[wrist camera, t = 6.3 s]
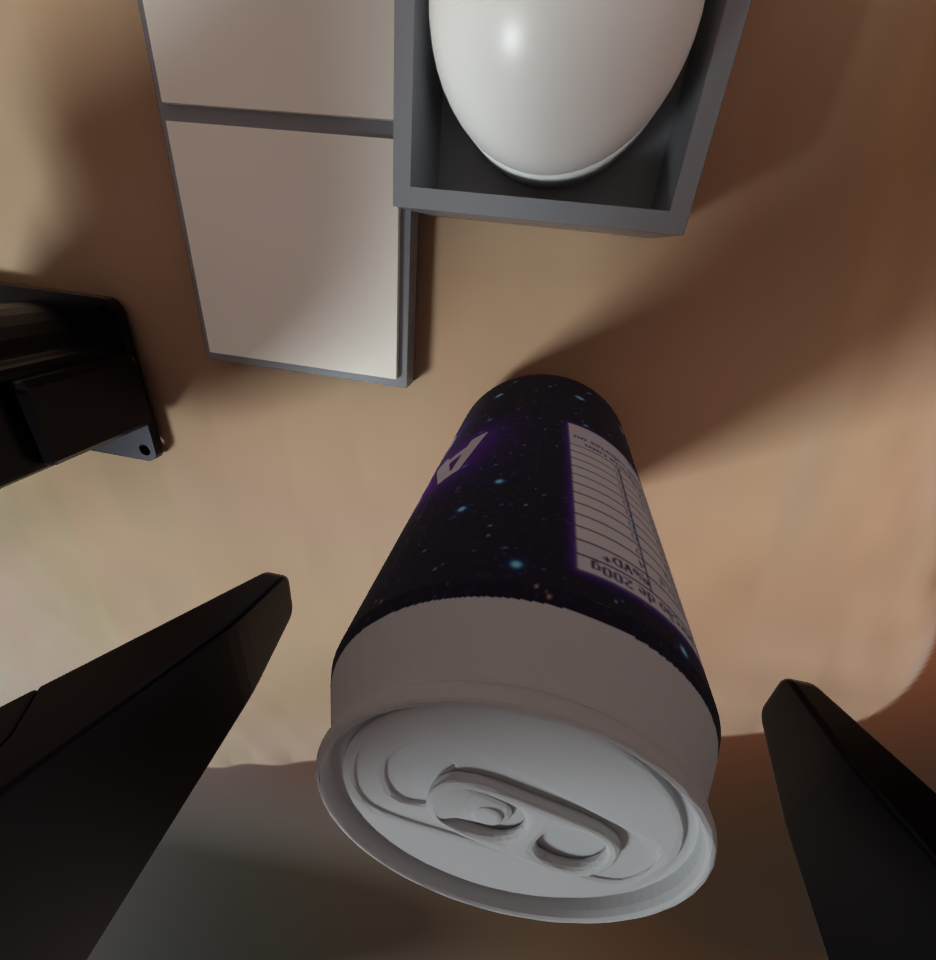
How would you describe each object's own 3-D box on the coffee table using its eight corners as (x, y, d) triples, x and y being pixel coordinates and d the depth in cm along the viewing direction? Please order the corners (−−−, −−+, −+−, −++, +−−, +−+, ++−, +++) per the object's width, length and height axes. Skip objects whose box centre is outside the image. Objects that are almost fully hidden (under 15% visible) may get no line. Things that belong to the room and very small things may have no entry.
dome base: (431, 215, 13) (392, 206, 10) (446, -113, 10) (396, -272, 7) (652, 237, 12) (683, 234, 9) (743, -110, 9) (835, -287, 6)
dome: (452, 180, 12) (389, 142, 7) (468, -93, 9) (391, -383, 5) (637, 197, 11) (687, 166, 7) (705, -88, 9) (846, -412, 4)
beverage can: (494, 341, 14) (318, 590, 4) (654, 404, 14) (900, 820, 4) (444, 480, 17) (266, 837, 7) (578, 533, 17) (604, 971, 7)
